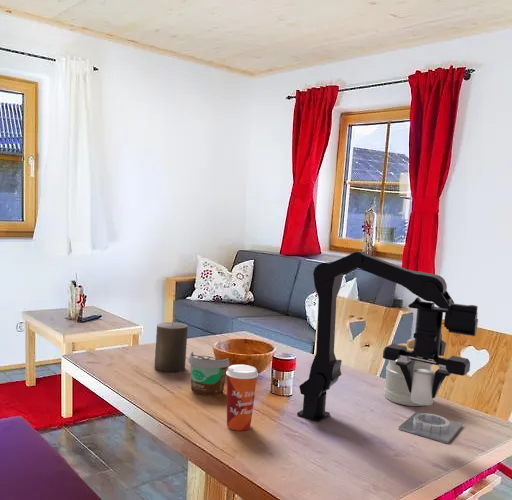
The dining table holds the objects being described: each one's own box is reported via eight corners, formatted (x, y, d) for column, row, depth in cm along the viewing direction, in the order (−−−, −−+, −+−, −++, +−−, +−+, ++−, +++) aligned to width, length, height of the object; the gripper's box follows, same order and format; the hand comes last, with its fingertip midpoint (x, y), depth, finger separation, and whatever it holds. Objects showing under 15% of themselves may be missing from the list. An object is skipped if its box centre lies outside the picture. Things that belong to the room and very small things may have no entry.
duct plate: (448, 443, 126) (448, 435, 126) (398, 429, 133) (399, 421, 133) (462, 426, 138) (463, 418, 138) (416, 413, 145) (416, 406, 144)
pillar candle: (182, 373, 165) (186, 325, 164) (151, 370, 165) (154, 322, 164) (187, 364, 175) (190, 319, 174) (157, 362, 175) (160, 316, 174)
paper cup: (230, 434, 123) (234, 374, 122) (217, 422, 130) (221, 365, 129) (260, 430, 127) (264, 371, 126) (246, 418, 133) (250, 362, 132)
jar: (437, 400, 157) (443, 341, 155) (416, 410, 147) (422, 347, 146) (396, 388, 165) (402, 332, 164) (375, 397, 156) (380, 337, 155)
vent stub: (429, 407, 122) (432, 376, 122) (407, 401, 125) (410, 372, 124) (436, 400, 127) (439, 371, 126) (415, 395, 130) (418, 366, 129)
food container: (178, 391, 149) (180, 355, 148) (189, 385, 155) (191, 351, 154) (218, 400, 145) (220, 363, 144) (227, 393, 150) (230, 358, 150)
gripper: (478, 331, 126) (472, 396, 127) (400, 317, 136) (395, 378, 137) (467, 338, 117) (460, 408, 118) (384, 323, 127) (379, 388, 128)
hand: (422, 394), depth 126 cm, fingers closed on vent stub, 5 cm apart
